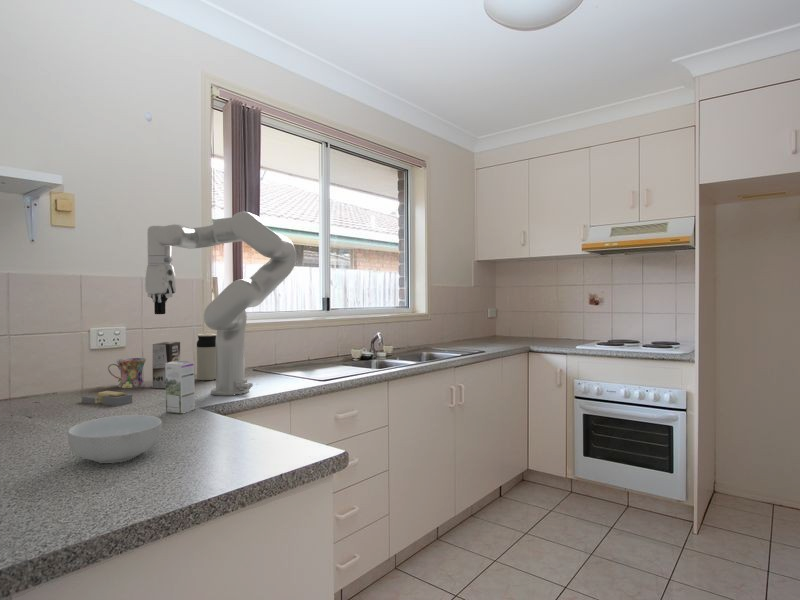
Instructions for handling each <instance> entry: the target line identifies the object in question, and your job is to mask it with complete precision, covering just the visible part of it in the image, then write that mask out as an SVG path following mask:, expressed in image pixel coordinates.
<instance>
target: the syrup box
mask: <svg viewBox="0 0 800 600" xmlns="http://www.w3.org/2000/svg"><path fill="white" fill-rule="evenodd" d="M165 373H166V388H165V412H166V413H169V414H171V413H172V414H178V413H183V414H185V413H184V412H187V413H189V412H188V411H190V412H192V411H191V410H193V411H195V410H194V409H196V403H195V399H196V398H195V396H196V395H195V392H196V391H195V361H192V360H191V361H190V360H180V361H172V362H168V363H165Z"/></svg>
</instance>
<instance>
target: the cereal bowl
mask: <svg viewBox="0 0 800 600" xmlns="http://www.w3.org/2000/svg"><path fill="white" fill-rule="evenodd" d="M162 424H163V423H162V419H160V417H157V416H154V415H147V414H121V415H112V416H105V417H98V418H93V419H91V420H90V419H89V420H86V421H83V422H82V421H81V422H80V423H78V424H76V425H73V426H71V427H70V428H69V429H68V431H67V438H68V440H67V441H68V445H69V448H70V449H71V452H73V453H74V455H76V456H78V457H80V458H81V459H85V460H89V461H94V462H95V463H97V462H99V463H98V464H102V463H112V464H114V463H113V462H120V463H122V462H121V461H124V462H126V461H125V460H128V461H130V460H129V459H131V460H133V459H135V458H137V457H138V456H139V455H141V454H143V453H145V452H147V451H149V450H151V448H153V447H154V446H155V445H156V444H157V443H158V441H159V439H160V436H161V434H162V427H163V426H162ZM137 455H138V456H137ZM136 456H137V457H136ZM134 457H135V458H134ZM132 458H133V459H132Z"/></svg>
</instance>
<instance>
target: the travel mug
mask: <svg viewBox="0 0 800 600" xmlns="http://www.w3.org/2000/svg"><path fill="white" fill-rule="evenodd" d="M216 334H217V333H198V334H197V337H198V340H197V341H196V379H197V380H198V381H200V380H210V381H215V380H214V379H216Z"/></svg>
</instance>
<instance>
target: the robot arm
mask: <svg viewBox="0 0 800 600" xmlns="http://www.w3.org/2000/svg"><path fill="white" fill-rule="evenodd" d="M237 242H244V243H245V244H246V245H248V246H250V247H251V249H253V250H255V251H256V252H257V253H258V254H260V256H261V255H262V256H263V257H265V258H268V259H269V260H268V261H267V262H266V263H265V264H263V265H262V266H260V268H258V270H257V271H256V272H254V273H253V274H252V275H251V276H250V277H248V278H242V279H241V278H240V279H237V280H234V281H232V282H231V283H230V284H228V285H227V286H226V287H225V288H224V289H223V290H222V291H221V292H220V293H219V294H218V295H217V296H216V297H215V298H214V299H213V300H212V301H211V302H210V303H209V304H208V305H207V306H206V308H205V309H204V313H203V321H204V324H205V325H206V326H207V327H208V328H209V329H211V330H213V331H216V333H215V334H216V380H215V387H214V388H211V390H210V394H211V395H213V396H214V395H215V396H219V397H220V396H222V397H223V396H224V395H228V396H235V395H234V394H239V395H243V394H242V393H244V394H247V393H248V391H249V392H250V389H251V388H252V387H253V386H254V385H253V383H252V382H248V378H245V377H246V376H245V366H246V365H245V363H246V362H245V354H246V353H245V347H246V346H245V342H246V341H245V339H246V338H245V337H246V328H247V327H246V326H247V318H248V317H247V311H246V310H247V309H248V308H256V307H257V306H259V305H261V303H263V301H265V300H266V298H267V297H268V296H270V295H271V293H273V292H274V291H275V290H276V289H277V288H278V287H279V286H280V285H281V284H282V283H283V281H284V280H285V279H287V277H289V276H290V274H291V273H292V271H293V270H294V268H295V266H296V261H297V251H296V247H295V245H294V243H293V242H292V240H291V239H289V238H288V237H287V236H284V235H282V234H280V233H278V232H277V233H276V232H275V231H273V230H272V229H270V228H269V227H268V226H267V225H265V223H264V221H263V220H262V218H261V217H260V216H258V215H256V214H253V213H251V212H248V211H239V212H237V213H235V214H233V215H232V216H231V217H223V218H216V219H215V220H214V221H213V223H212V224H210V225H205V226H200V227H199V226H198V227H189V226H185V225H181V224H175V223H174V224H170V225H151V226H148V228H147V265H146V270H145V284H144V286H145V292H146V293H147V297H148V298H150V299H151V300H152V302H153V303H154V305H153V306H154V315H165V314H166V303H167V302H168V299H171V298H173V294H175V293H176V292H177V290H176V289H177V286H176V285H177V283H176V273H175V268H174V265H173V264H172V262H173V258H172V255H173V254H172V247H176V248H183V249H188V250H191V249H202V248H209V247H213V246H219V245H222V244H230V243H237ZM246 392H247V393H246Z"/></svg>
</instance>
